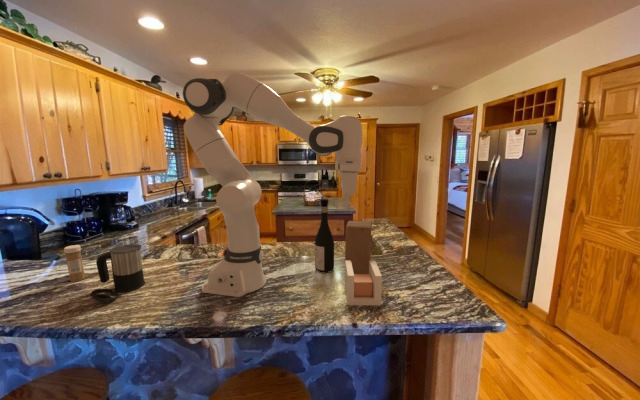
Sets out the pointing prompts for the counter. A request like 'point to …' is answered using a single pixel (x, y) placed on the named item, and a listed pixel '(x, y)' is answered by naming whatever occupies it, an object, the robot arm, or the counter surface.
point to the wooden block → (358, 245)
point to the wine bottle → (324, 243)
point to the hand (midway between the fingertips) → (346, 204)
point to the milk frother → (120, 271)
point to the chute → (376, 285)
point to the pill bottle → (74, 262)
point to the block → (362, 285)
